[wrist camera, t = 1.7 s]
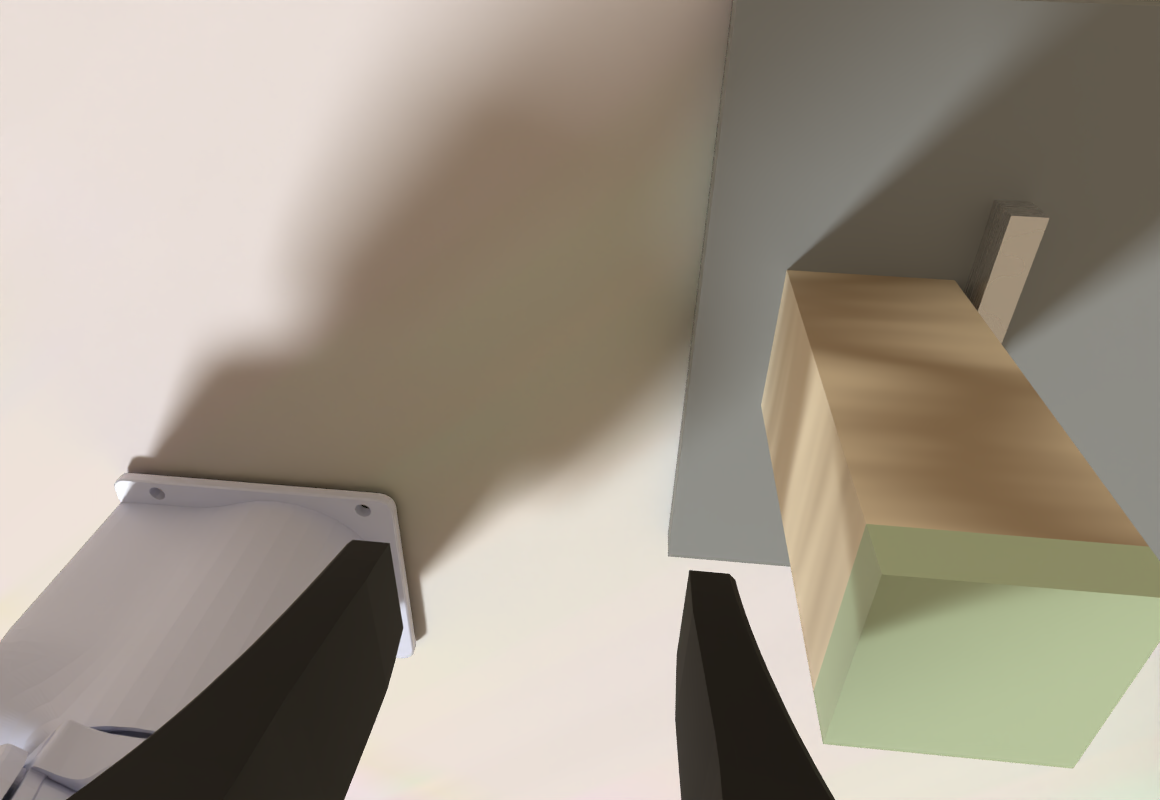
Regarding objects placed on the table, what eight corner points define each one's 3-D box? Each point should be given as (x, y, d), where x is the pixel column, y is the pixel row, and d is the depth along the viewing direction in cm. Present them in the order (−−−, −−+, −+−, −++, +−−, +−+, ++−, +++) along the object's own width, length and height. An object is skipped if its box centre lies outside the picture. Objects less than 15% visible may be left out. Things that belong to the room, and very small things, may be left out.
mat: (668, 534, 25) (668, 579, 24) (734, -16, 16) (742, -5, 15) (1241, 581, 24) (1284, 632, 23) (1649, 19, 15) (1770, 35, 14)
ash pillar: (761, 405, 21) (823, 743, 13) (786, 270, 19) (881, 574, 10) (911, 415, 21) (1073, 768, 12) (954, 280, 19) (1188, 600, 10)
